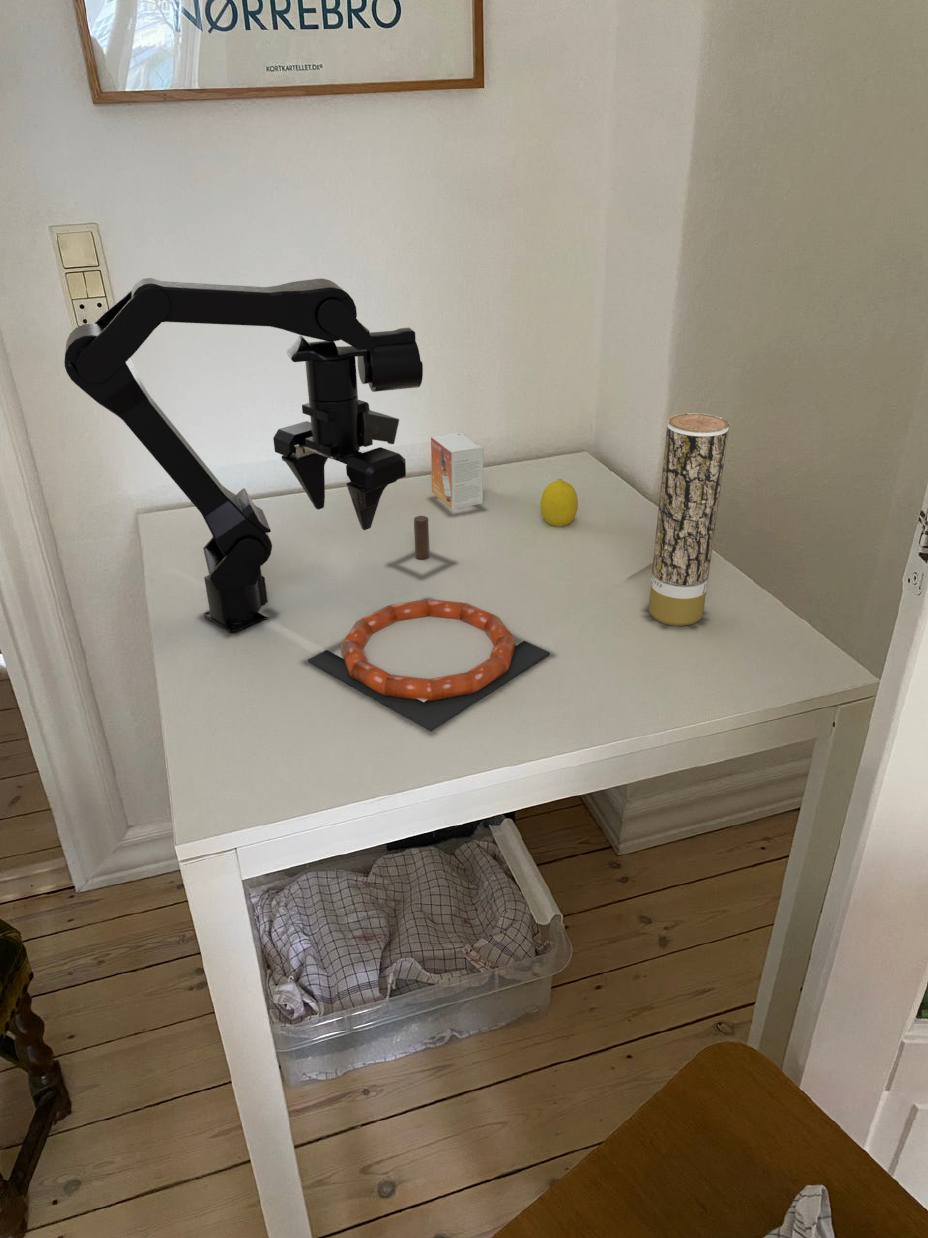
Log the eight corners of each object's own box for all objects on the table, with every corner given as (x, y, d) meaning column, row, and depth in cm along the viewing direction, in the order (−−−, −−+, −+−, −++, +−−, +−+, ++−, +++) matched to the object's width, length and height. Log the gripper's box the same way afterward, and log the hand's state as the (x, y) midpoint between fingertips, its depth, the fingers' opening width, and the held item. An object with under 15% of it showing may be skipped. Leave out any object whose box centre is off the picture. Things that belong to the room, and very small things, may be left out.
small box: (431, 498, 150) (429, 436, 145) (462, 492, 152) (461, 431, 147) (451, 516, 144) (450, 451, 138) (483, 510, 146) (484, 446, 140)
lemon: (576, 522, 141) (579, 473, 137) (576, 537, 136) (579, 486, 132) (540, 521, 142) (541, 472, 138) (539, 536, 137) (540, 485, 133)
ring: (430, 726, 96) (429, 708, 94) (308, 658, 107) (306, 641, 106) (548, 651, 108) (548, 634, 107) (428, 597, 120) (427, 581, 119)
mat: (430, 731, 96) (430, 728, 95) (308, 662, 107) (308, 659, 107) (549, 654, 108) (549, 652, 108) (428, 600, 120) (428, 597, 120)
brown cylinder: (422, 578, 126) (421, 531, 122) (392, 565, 129) (389, 519, 126) (452, 563, 129) (452, 517, 126) (422, 551, 133) (420, 506, 129)
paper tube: (662, 632, 113) (685, 434, 100) (638, 606, 118) (657, 416, 106) (712, 624, 114) (740, 428, 102) (687, 598, 120) (710, 410, 107)
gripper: (438, 396, 107) (440, 520, 114) (337, 367, 118) (345, 482, 126) (364, 418, 100) (372, 548, 108) (264, 385, 111) (278, 505, 119)
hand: (342, 518), depth 115 cm, fingers open, 9 cm apart
